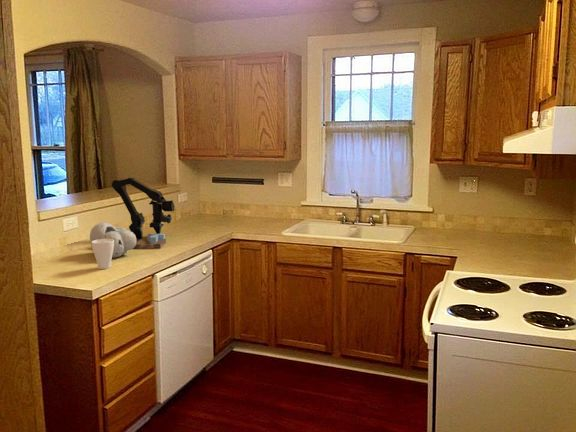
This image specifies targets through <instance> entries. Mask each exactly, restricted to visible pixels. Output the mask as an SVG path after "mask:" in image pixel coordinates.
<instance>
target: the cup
mask: <svg viewBox="0 0 576 432" xmlns="http://www.w3.org/2000/svg"><path fill="white" fill-rule="evenodd" d="M91 248H92V251H93V255H94V257H95V260H96V264H97V269H99V270H109V269H111V267H112V259H113V258H112V254H113V248H114V240H113V239H99V240H94V241H92V246H91Z"/></svg>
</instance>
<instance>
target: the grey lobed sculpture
mask: <svg viewBox="0 0 576 432" xmlns="http://www.w3.org/2000/svg"><path fill="white" fill-rule="evenodd" d="M115 228H116V227H115V226H114V225H113V224H111V223H109V222H105V221H103V222H99V223H97V224H95V225H94V226H92V228H91V231H90V233H89V241H90V245H91V247H92V241H94V240H99V239H113V240H114V248H113V254H112V259H113V258H119V257H121V256H122V255H125V254H126V253H127V252H128V251H130V250H133V249H134V247H135V245H136V243H137V242H138V241H137V240H138V239H136V236H135V234H133V232H131V231H130V230H129V229H126V230H123V231H121V232H119V233H118V232H117V230H116V229H115Z"/></svg>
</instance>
